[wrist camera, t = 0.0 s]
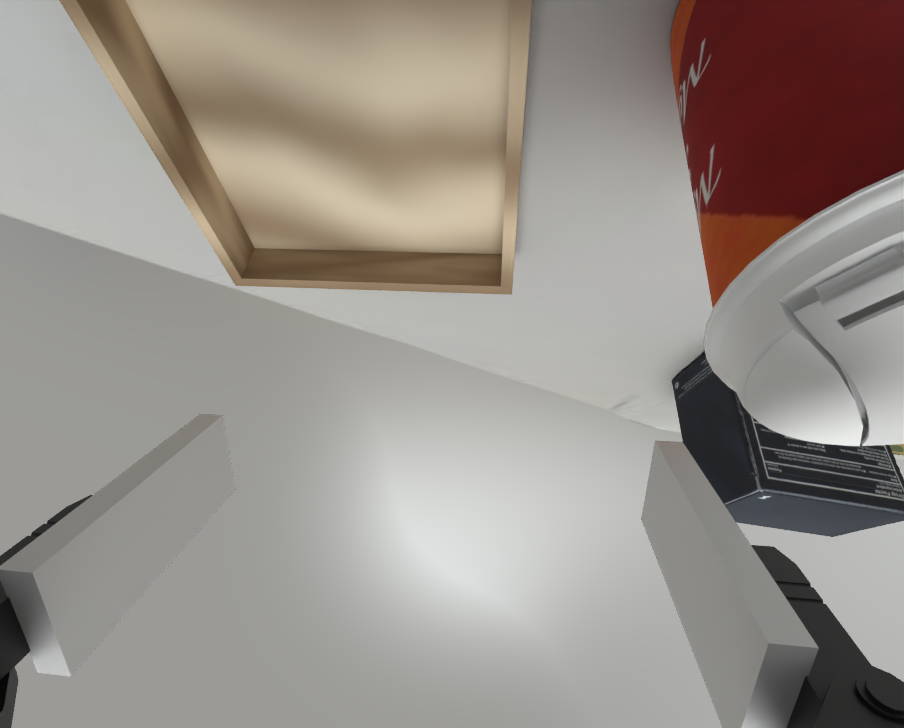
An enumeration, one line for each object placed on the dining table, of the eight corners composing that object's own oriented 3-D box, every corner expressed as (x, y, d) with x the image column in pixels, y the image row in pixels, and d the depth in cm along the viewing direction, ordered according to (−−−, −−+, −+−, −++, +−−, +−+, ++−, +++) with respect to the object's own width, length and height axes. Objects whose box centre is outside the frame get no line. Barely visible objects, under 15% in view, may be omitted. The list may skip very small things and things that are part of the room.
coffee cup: (589, 48, 19) (633, 382, 11) (821, -238, 13) (1337, 28, 5) (727, 160, 22) (840, 482, 14) (963, -24, 16) (1411, 353, 8)
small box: (665, 382, 38) (688, 520, 32) (720, 334, 32) (760, 488, 27) (789, 406, 39) (832, 542, 33) (861, 363, 34) (929, 517, 28)
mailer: (-211, -628, 10) (-358, -675, 8) (579, -763, 8) (591, -856, 7) (252, 248, 30) (235, 285, 28) (513, 254, 28) (511, 294, 26)
